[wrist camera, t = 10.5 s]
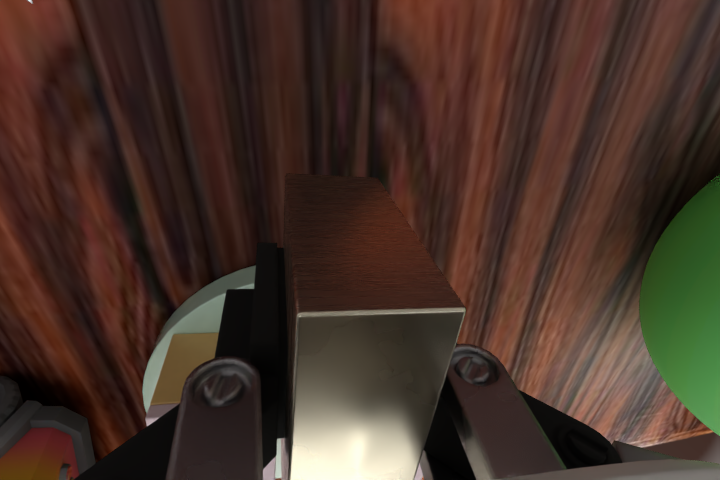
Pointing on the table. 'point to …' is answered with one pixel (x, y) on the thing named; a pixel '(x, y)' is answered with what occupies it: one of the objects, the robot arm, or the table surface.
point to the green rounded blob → (687, 305)
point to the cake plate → (197, 328)
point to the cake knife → (360, 333)
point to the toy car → (41, 439)
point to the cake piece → (185, 376)
